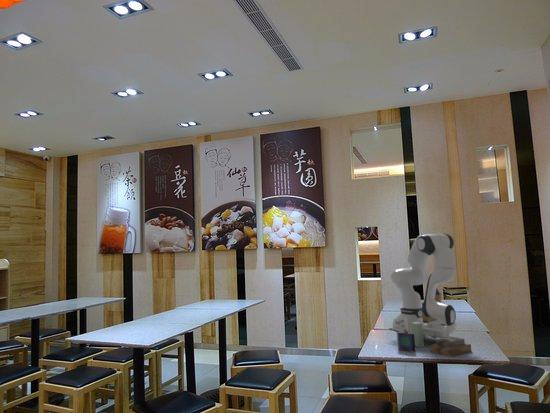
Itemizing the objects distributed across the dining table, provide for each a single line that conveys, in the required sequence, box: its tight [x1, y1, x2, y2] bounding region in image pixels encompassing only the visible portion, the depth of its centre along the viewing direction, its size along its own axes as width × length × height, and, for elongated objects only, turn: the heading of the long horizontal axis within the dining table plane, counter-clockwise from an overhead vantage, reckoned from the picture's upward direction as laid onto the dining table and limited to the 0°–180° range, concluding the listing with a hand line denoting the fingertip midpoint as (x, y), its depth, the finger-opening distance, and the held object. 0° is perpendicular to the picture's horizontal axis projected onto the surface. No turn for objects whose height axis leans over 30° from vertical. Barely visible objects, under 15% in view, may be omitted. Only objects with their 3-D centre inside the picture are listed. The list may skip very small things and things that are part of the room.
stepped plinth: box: [430, 335, 472, 358], centre depth 205 cm, size 12×16×6 cm
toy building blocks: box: [421, 287, 442, 324], centre depth 281 cm, size 12×19×25 cm, turn 149°
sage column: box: [411, 322, 425, 348], centre depth 219 cm, size 4×4×12 cm
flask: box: [396, 329, 416, 353], centre depth 211 cm, size 9×3×11 cm, turn 48°
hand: (419, 333), depth 220 cm, fingers open, 8 cm apart
